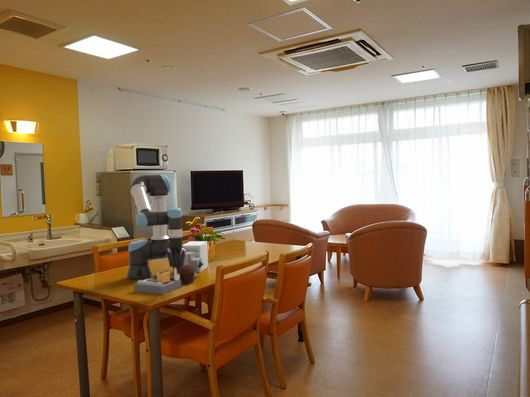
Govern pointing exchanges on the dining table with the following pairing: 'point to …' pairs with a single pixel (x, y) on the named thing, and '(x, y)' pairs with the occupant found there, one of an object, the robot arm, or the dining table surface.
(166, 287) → the breaker panel
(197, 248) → the supplement box
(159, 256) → the robot arm
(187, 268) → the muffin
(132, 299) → the dining table surface
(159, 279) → the breaker toggle
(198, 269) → the circuit breaker
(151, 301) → the dining table surface
